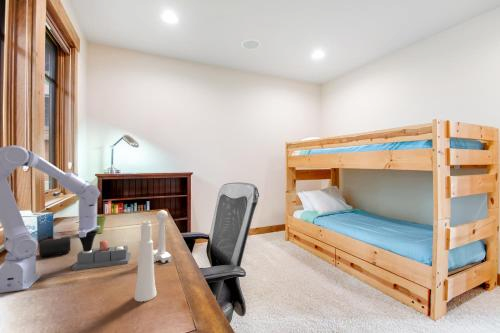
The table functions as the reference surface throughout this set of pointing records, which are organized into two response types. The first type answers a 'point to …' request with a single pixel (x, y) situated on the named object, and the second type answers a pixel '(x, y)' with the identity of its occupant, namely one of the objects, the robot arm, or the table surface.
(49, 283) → the table surface
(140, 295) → the cosmetic bottle
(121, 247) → the far ivory plug
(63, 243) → the end cap
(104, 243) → the salmon rounded peg
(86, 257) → the socket strip
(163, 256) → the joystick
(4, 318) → the table surface
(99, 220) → the plant pot
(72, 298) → the table surface
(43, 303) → the table surface
